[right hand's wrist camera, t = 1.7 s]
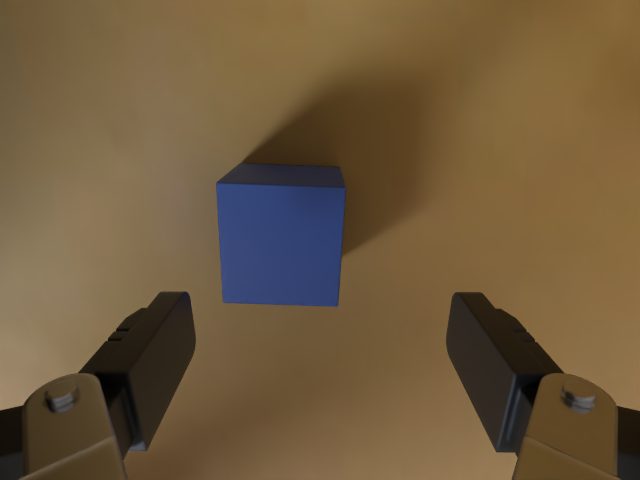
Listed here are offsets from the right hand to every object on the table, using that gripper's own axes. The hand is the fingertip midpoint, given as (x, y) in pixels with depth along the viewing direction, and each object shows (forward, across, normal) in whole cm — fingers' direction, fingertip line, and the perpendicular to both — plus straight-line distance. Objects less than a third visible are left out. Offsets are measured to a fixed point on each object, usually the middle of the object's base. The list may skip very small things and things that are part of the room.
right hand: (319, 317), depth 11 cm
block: (+8, +2, -1) cm, 9 cm away
